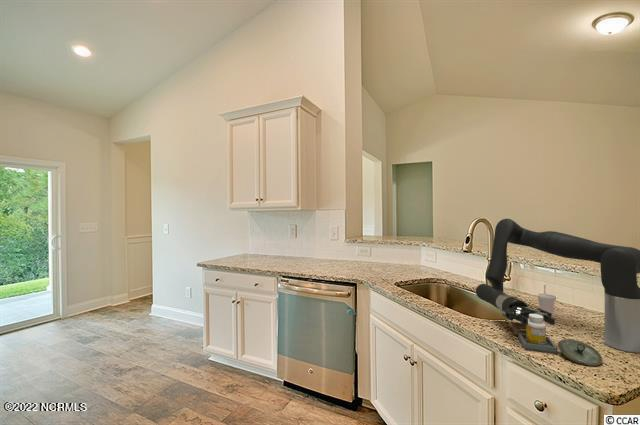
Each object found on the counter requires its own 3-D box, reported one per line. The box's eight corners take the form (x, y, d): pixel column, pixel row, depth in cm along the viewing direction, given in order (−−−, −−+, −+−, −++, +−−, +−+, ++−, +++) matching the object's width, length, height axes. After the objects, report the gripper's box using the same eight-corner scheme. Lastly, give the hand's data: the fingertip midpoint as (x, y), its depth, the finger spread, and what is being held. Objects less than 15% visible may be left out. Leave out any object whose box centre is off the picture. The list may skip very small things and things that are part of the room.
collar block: (536, 329, 114) (536, 324, 114) (542, 338, 106) (542, 332, 106) (511, 326, 117) (511, 321, 117) (515, 334, 110) (515, 329, 110)
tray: (548, 342, 103) (548, 337, 103) (557, 354, 95) (557, 348, 95) (518, 338, 106) (518, 333, 106) (524, 349, 98) (524, 343, 98)
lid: (585, 351, 96) (585, 336, 96) (612, 368, 87) (612, 350, 87) (550, 350, 98) (550, 335, 98) (572, 366, 88) (572, 349, 88)
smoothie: (538, 314, 130) (538, 282, 130) (557, 318, 125) (557, 285, 125) (535, 318, 125) (535, 285, 125) (554, 322, 121) (554, 288, 121)
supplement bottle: (527, 339, 105) (527, 311, 104) (546, 343, 101) (546, 315, 101) (525, 344, 100) (525, 316, 100) (545, 349, 97) (545, 319, 97)
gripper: (492, 296, 115) (518, 310, 99) (530, 296, 115) (562, 311, 98) (492, 315, 115) (518, 333, 99) (530, 315, 115) (562, 333, 99)
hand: (540, 322), depth 99 cm, fingers open, 8 cm apart
